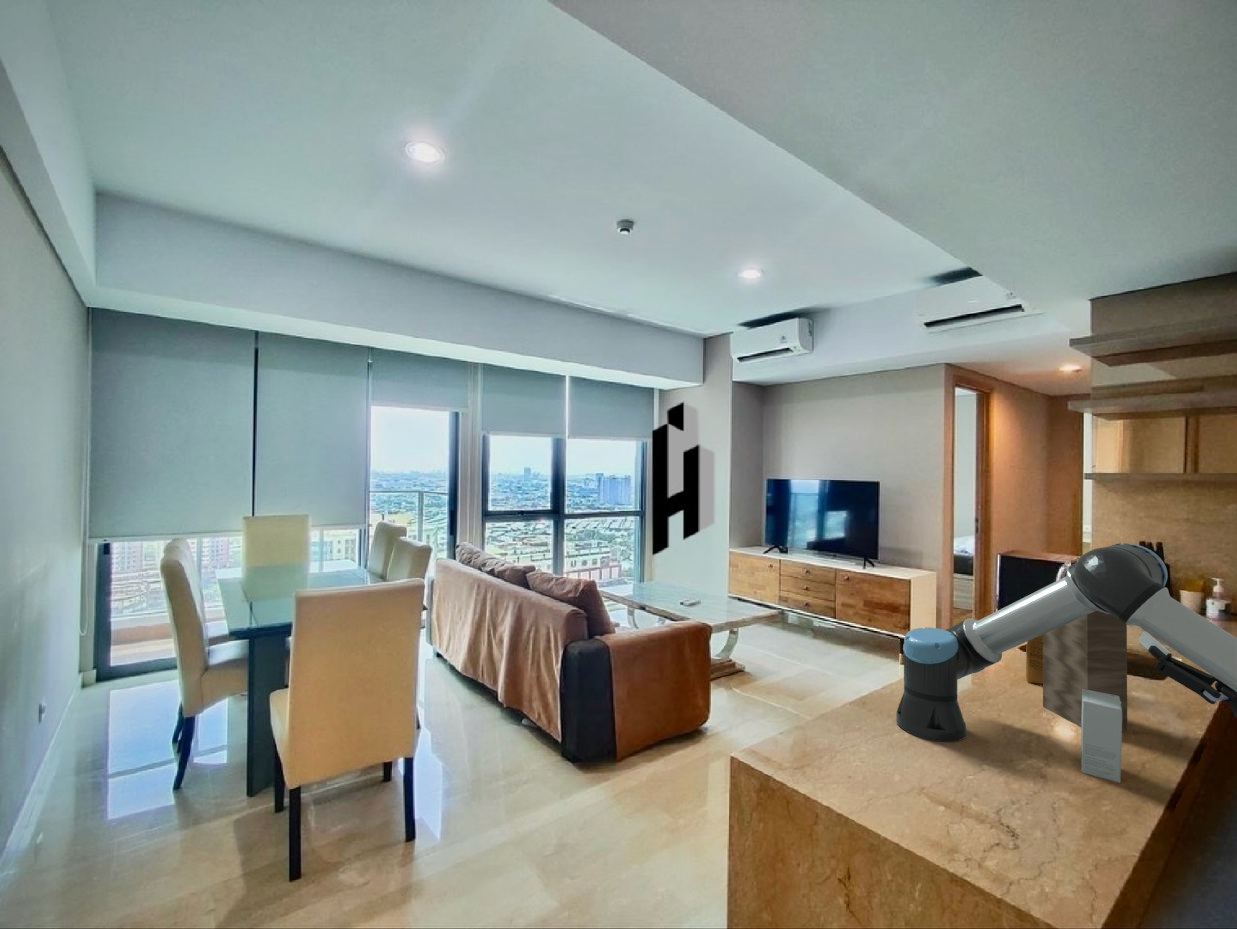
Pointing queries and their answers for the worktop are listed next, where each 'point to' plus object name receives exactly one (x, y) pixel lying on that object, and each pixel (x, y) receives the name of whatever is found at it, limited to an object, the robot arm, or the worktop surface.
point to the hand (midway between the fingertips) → (1171, 635)
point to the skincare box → (1101, 735)
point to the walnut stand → (1084, 664)
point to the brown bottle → (1034, 660)
